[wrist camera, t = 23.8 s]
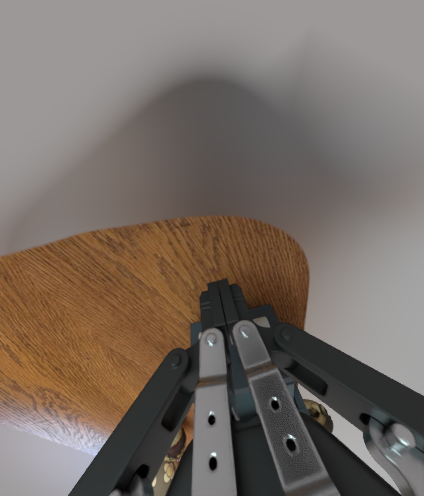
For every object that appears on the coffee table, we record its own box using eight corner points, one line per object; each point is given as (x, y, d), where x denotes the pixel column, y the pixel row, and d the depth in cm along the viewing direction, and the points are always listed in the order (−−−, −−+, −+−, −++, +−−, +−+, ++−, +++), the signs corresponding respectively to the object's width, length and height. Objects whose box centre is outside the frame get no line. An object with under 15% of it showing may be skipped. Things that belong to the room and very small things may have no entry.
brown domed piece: (182, 438, 64) (174, 446, 52) (187, 486, 57) (178, 507, 45) (155, 448, 62) (140, 459, 51) (156, 498, 55) (139, 524, 44)
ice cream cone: (186, 423, 34) (186, 464, 39) (186, 391, 40) (186, 430, 45) (154, 428, 33) (158, 469, 38) (158, 394, 39) (161, 434, 44)
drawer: (179, 301, 20) (174, 380, 13) (268, 278, 20) (309, 347, 13) (211, 366, 29) (218, 434, 22) (273, 351, 28) (300, 415, 22)
